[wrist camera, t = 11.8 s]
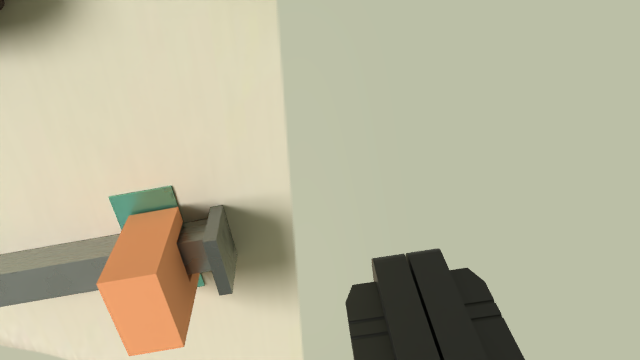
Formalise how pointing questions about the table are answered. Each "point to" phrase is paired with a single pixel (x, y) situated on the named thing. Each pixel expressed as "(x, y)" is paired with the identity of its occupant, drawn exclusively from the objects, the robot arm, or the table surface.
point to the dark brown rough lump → (1, 4)
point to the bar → (91, 255)
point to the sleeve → (149, 283)
